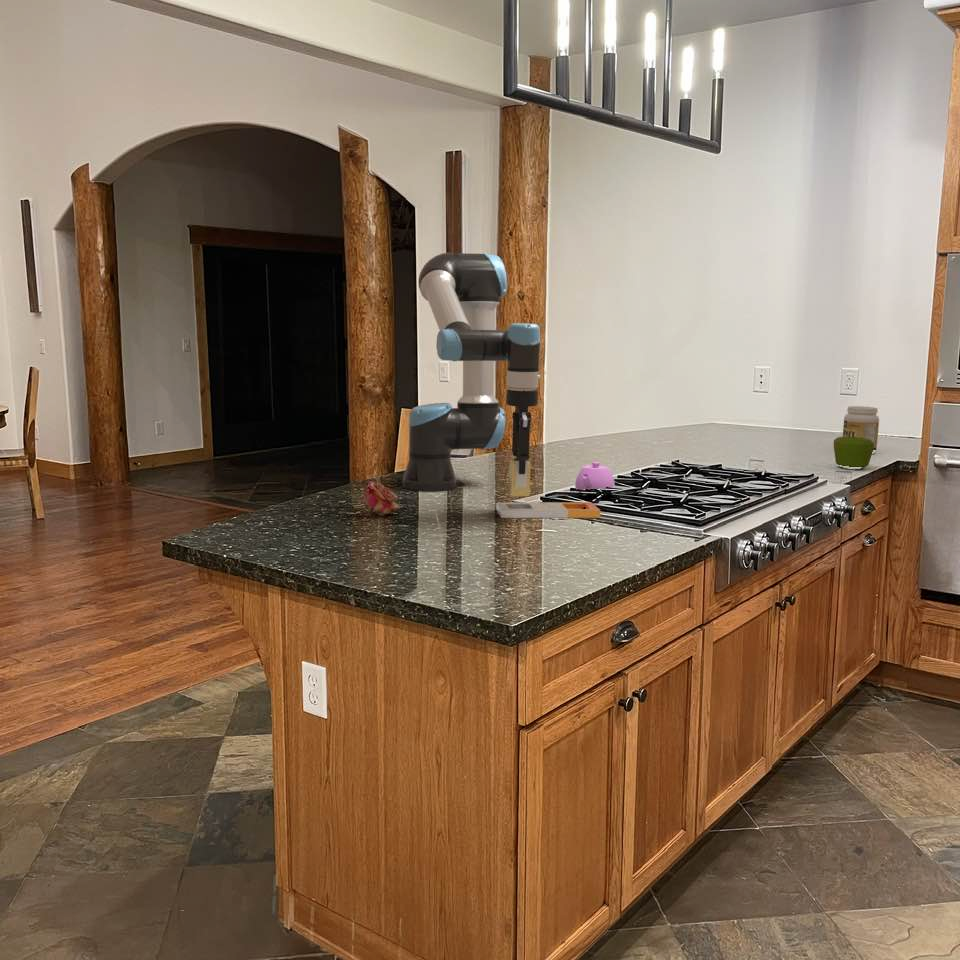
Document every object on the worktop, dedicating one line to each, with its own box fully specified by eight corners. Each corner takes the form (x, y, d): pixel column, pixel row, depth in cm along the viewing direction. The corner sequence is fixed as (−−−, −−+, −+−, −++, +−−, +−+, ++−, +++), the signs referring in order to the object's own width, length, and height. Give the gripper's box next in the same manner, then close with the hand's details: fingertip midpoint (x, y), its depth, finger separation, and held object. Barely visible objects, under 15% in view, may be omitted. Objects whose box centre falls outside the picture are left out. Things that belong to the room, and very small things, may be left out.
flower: (357, 512, 230) (377, 485, 229) (351, 497, 238) (371, 471, 237) (389, 532, 234) (409, 506, 233) (383, 516, 242) (402, 491, 241)
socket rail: (501, 520, 232) (501, 510, 231) (496, 511, 242) (496, 502, 241) (600, 520, 234) (600, 510, 234) (591, 511, 244) (591, 502, 244)
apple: (879, 470, 320) (882, 436, 318) (850, 472, 316) (853, 437, 314) (852, 464, 332) (855, 431, 330) (823, 466, 327) (826, 432, 325)
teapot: (620, 494, 269) (622, 460, 268) (601, 502, 256) (602, 467, 255) (585, 490, 274) (587, 457, 273) (564, 498, 261) (566, 464, 259)
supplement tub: (834, 451, 366) (837, 405, 363) (861, 450, 370) (865, 405, 367) (855, 455, 355) (859, 409, 352) (883, 454, 358) (887, 408, 355)
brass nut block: (511, 496, 234) (512, 463, 233) (508, 492, 239) (509, 460, 237) (529, 496, 235) (530, 463, 233) (526, 492, 239) (527, 460, 238)
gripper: (543, 392, 224) (540, 492, 228) (532, 385, 241) (529, 478, 245) (511, 392, 223) (508, 492, 227) (502, 385, 240) (499, 478, 245)
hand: (519, 484), depth 236 cm, fingers closed on brass nut block, 4 cm apart
